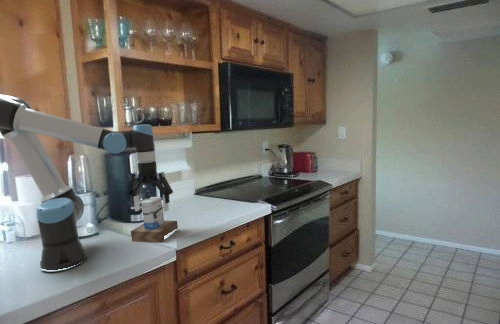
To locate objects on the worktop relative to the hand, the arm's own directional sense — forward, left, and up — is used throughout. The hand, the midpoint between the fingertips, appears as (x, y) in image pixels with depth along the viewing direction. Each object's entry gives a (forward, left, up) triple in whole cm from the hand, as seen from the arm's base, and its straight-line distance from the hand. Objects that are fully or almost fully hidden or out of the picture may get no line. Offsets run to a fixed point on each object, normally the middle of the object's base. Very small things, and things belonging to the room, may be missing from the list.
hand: (151, 210), depth 145 cm
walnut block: (0, 0, -12) cm, 12 cm away
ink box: (0, 0, -7) cm, 7 cm away
